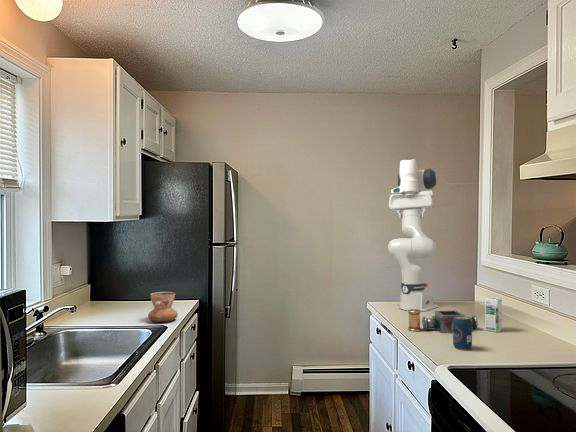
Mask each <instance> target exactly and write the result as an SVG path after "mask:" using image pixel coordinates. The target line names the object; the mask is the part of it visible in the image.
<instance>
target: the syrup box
mask: <svg viewBox="0 0 576 432" xmlns="http://www.w3.org/2000/svg"><path fill="white" fill-rule="evenodd" d="M484 318H485V319H484V330H485V331H488V332H492V333H499V332H501V331H502V330H503V299H502V298H499V297H491V296H488V297H486V298H484Z"/></svg>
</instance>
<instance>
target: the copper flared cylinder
mask: <svg viewBox="0 0 576 432" xmlns="http://www.w3.org/2000/svg"><path fill="white" fill-rule="evenodd" d="M421 312H422V311H421V310H417V309H409V310H407V313H408V327H407V328H408V329H407V331H409V332H412V331H413V333H417V331H419V332H421V331H422V328H421V321H420V320H421V315H420V314H421Z"/></svg>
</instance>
